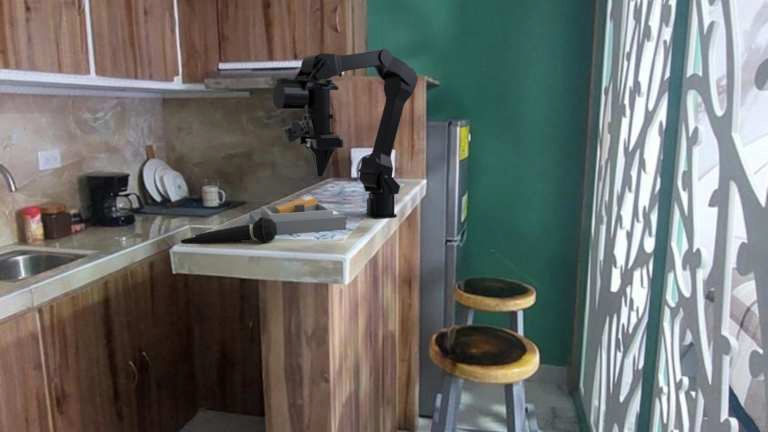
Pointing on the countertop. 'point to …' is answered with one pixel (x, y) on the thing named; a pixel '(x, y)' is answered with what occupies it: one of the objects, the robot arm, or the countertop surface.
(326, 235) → the countertop surface
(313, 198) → the plate
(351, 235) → the countertop surface
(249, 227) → the microphone
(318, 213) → the switch panel
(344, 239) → the countertop surface
